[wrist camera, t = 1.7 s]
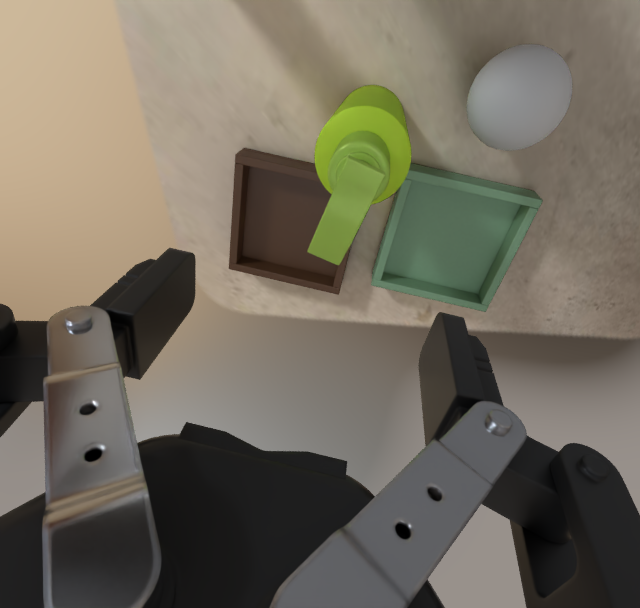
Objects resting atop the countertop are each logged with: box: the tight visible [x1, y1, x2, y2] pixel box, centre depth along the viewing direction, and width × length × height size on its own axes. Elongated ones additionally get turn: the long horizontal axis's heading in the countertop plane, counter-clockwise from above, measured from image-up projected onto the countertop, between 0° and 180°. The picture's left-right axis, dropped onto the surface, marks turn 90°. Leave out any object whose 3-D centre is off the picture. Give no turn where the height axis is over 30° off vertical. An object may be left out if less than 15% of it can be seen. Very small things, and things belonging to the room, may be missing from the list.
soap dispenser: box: [307, 85, 411, 265], centre depth 27 cm, size 6×7×20 cm
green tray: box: [371, 163, 543, 312], centre depth 39 cm, size 12×12×3 cm
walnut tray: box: [229, 148, 351, 294], centre depth 40 cm, size 12×12×3 cm
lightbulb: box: [467, 44, 572, 151], centre depth 28 cm, size 6×6×11 cm
